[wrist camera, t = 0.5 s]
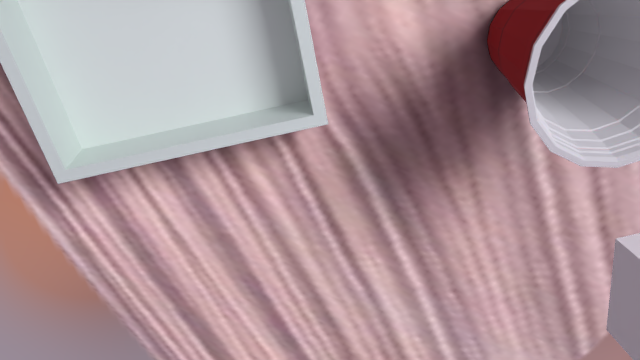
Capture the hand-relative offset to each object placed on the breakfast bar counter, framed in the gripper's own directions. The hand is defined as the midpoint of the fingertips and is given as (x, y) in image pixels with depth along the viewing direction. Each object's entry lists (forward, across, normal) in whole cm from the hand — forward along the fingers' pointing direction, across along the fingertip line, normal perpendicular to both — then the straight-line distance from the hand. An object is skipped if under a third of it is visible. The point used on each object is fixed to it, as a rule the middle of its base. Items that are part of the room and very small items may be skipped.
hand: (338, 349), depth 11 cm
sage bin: (+27, -6, +6) cm, 28 cm away
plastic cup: (+27, +18, -2) cm, 32 cm away
